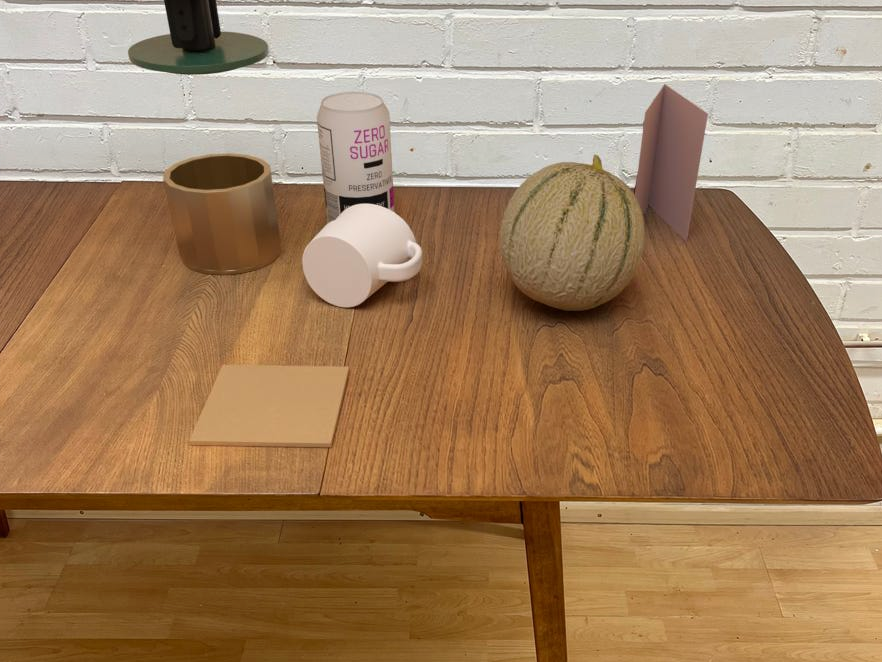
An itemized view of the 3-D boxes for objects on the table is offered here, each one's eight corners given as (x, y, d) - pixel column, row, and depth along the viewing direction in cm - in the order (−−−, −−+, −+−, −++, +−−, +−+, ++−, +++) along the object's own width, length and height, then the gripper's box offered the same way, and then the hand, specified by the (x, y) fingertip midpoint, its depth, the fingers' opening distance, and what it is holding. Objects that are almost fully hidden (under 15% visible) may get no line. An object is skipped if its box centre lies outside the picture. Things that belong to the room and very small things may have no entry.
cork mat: (189, 445, 75) (188, 440, 75) (223, 368, 84) (222, 364, 84) (331, 447, 75) (331, 443, 75) (349, 370, 84) (349, 366, 84)
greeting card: (641, 204, 116) (657, 83, 106) (698, 212, 114) (720, 90, 104) (622, 239, 108) (637, 111, 98) (683, 249, 106) (705, 119, 96)
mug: (299, 299, 95) (290, 228, 90) (339, 263, 102) (333, 195, 97) (402, 319, 92) (399, 247, 87) (436, 280, 99) (435, 211, 94)
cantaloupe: (474, 316, 93) (476, 174, 83) (529, 260, 103) (536, 128, 93) (609, 350, 88) (627, 203, 78) (653, 287, 98) (674, 151, 88)
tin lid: (198, 89, 75) (182, -6, 71) (101, 65, 80) (80, -25, 76) (297, 57, 84) (288, -30, 79) (203, 38, 89) (189, -45, 84)
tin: (230, 284, 98) (215, 200, 91) (160, 257, 102) (141, 176, 96) (301, 247, 105) (291, 167, 99) (232, 224, 110) (219, 146, 104)
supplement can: (351, 210, 113) (340, 86, 104) (407, 222, 111) (402, 96, 101) (315, 233, 108) (300, 105, 98) (373, 247, 105) (364, 116, 96)
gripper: (142, -218, 76) (184, 20, 87) (63, -212, 63) (125, 65, 75) (229, -216, 75) (260, 22, 87) (168, -209, 63) (213, 68, 75)
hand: (197, 40), depth 81 cm, fingers closed on tin lid, 3 cm apart
